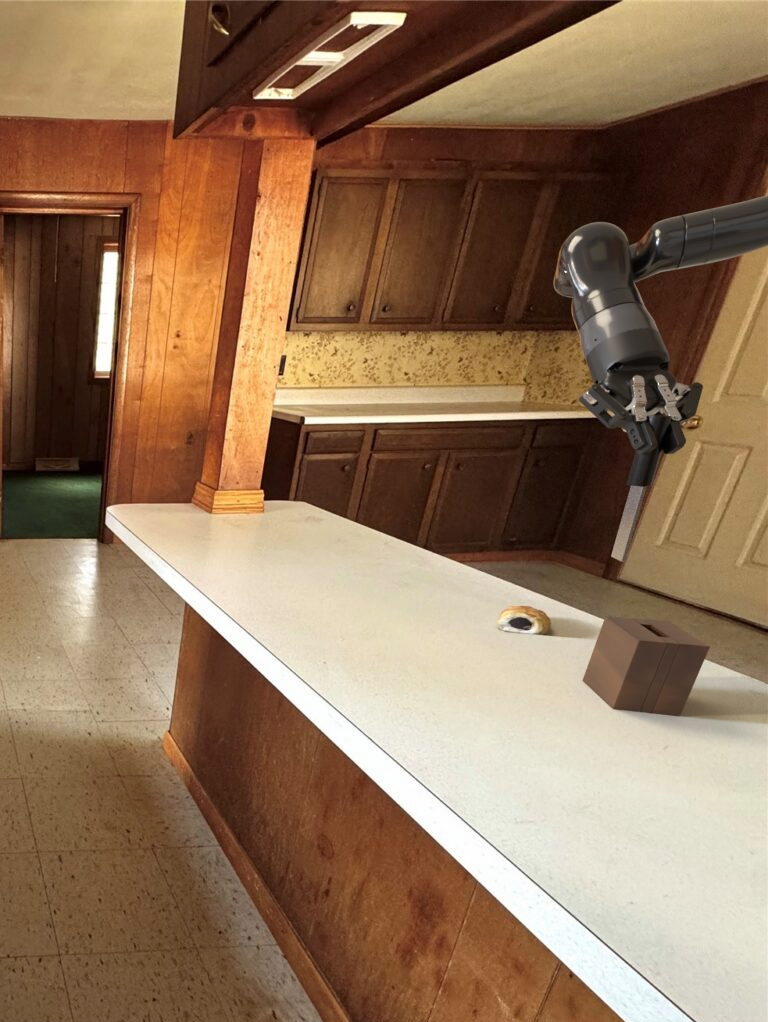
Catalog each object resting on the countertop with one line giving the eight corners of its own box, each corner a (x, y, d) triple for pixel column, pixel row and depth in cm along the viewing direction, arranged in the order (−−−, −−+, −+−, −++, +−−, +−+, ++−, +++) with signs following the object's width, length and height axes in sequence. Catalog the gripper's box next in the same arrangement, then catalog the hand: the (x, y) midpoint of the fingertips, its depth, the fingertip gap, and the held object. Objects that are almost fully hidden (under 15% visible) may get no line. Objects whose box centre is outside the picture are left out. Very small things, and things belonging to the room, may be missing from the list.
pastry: (506, 613, 118) (512, 593, 117) (554, 624, 113) (561, 603, 112) (493, 629, 112) (499, 608, 111) (543, 641, 108) (551, 620, 106)
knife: (623, 557, 92) (664, 415, 86) (634, 562, 90) (677, 416, 84) (601, 556, 93) (640, 415, 87) (611, 561, 90) (652, 416, 85)
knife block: (641, 692, 92) (669, 620, 88) (677, 722, 85) (710, 646, 81) (579, 686, 94) (605, 616, 90) (610, 715, 87) (639, 640, 83)
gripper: (584, 328, 89) (623, 433, 83) (702, 324, 87) (752, 431, 81) (547, 367, 96) (580, 467, 89) (655, 364, 94) (698, 466, 87)
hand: (661, 450), depth 85 cm, fingers closed on knife, 2 cm apart
